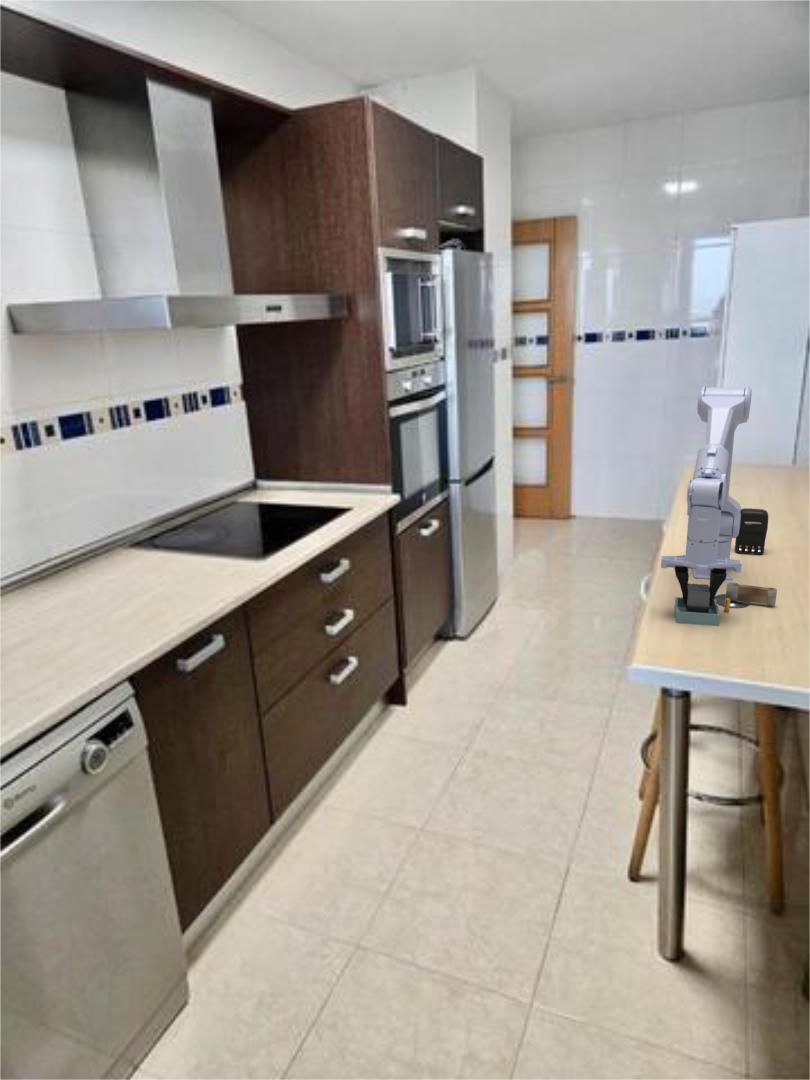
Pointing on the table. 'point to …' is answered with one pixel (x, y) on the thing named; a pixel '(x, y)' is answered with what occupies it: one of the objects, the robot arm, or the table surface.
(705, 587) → the block
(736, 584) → the crank
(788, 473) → the table surface
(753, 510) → the battery charger
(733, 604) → the crank base
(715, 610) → the tray
